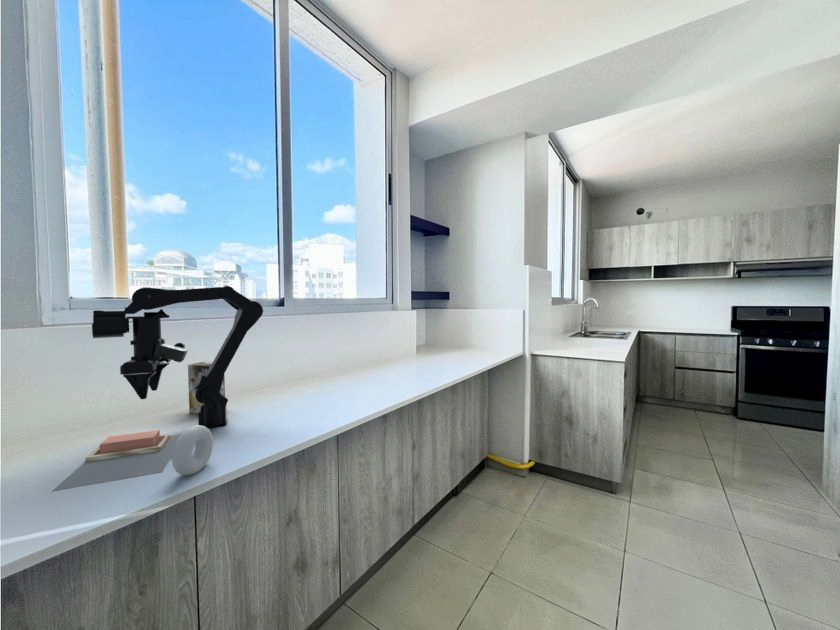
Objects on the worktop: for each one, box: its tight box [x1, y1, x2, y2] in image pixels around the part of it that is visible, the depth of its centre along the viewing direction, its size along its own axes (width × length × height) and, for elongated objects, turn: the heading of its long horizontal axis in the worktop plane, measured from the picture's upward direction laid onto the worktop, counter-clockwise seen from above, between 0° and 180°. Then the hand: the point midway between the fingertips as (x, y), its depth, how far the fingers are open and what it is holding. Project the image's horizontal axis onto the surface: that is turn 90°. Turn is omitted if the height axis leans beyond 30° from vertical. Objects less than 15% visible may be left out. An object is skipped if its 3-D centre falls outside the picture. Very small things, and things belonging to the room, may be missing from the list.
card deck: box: [99, 429, 161, 454], centre depth 81 cm, size 5×10×3 cm, turn 114°
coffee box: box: [187, 361, 226, 414], centre depth 112 cm, size 9×6×16 cm
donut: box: [171, 424, 214, 476], centre depth 71 cm, size 10×4×10 cm, turn 178°
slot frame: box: [85, 433, 171, 462], centre depth 81 cm, size 14×9×1 cm, turn 115°
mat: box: [51, 433, 182, 492], centre depth 77 cm, size 17×23×1 cm
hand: (149, 394), depth 88 cm, fingers open, 9 cm apart
